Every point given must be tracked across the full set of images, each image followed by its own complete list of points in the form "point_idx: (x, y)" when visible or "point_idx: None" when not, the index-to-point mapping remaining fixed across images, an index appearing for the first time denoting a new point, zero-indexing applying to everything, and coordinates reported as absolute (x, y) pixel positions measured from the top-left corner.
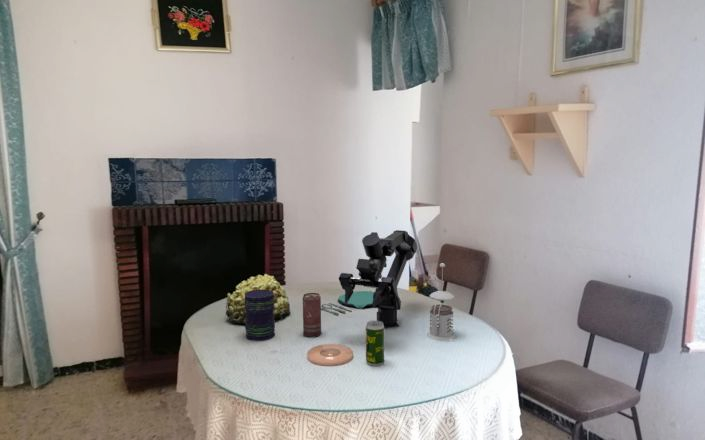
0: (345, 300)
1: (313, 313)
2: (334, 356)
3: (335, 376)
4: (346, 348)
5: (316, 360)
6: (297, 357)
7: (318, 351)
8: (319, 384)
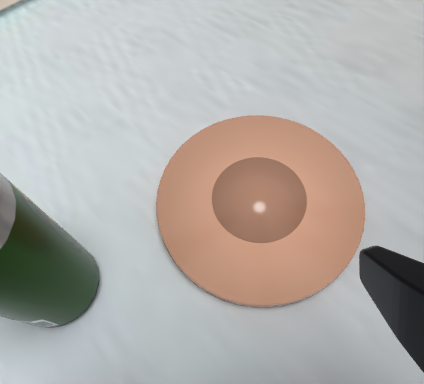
0: (371, 250)
1: None
2: (214, 182)
3: (121, 110)
4: (239, 281)
5: (239, 117)
6: (341, 122)
7: (304, 173)
8: (127, 55)
